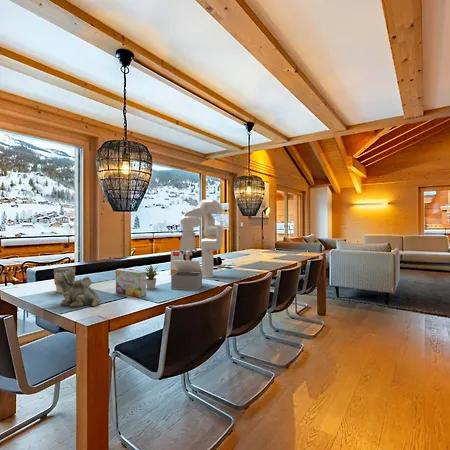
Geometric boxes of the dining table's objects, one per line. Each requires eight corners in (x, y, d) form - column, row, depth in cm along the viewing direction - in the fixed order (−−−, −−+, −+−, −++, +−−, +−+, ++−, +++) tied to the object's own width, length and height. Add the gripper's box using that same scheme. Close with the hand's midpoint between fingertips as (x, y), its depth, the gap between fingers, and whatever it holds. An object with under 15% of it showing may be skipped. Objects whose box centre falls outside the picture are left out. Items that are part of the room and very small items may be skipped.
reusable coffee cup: (48, 292, 186) (48, 268, 186) (66, 288, 198) (66, 266, 198) (63, 294, 182) (63, 270, 181) (80, 290, 193) (80, 267, 193)
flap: (198, 261, 199) (200, 253, 203) (172, 260, 201) (174, 253, 206) (202, 272, 209) (203, 264, 213) (177, 271, 212) (179, 264, 216)
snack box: (114, 293, 186) (114, 269, 185) (121, 291, 191) (121, 268, 190) (140, 297, 176) (140, 272, 176) (146, 295, 181) (146, 270, 181)
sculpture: (68, 298, 174) (68, 264, 174) (109, 301, 167) (109, 266, 167) (45, 305, 158) (45, 268, 158) (88, 310, 151) (88, 271, 151)
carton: (177, 284, 212) (177, 271, 212) (202, 285, 209) (202, 272, 209) (171, 288, 198) (171, 275, 198) (197, 289, 196) (197, 276, 195)
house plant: (153, 284, 211) (153, 261, 211) (166, 287, 203) (166, 263, 203) (136, 288, 199) (136, 264, 199) (150, 291, 191) (150, 266, 191)
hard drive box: (170, 274, 249) (170, 251, 249) (173, 273, 256) (173, 250, 256) (188, 275, 246) (188, 251, 246) (190, 273, 254) (190, 250, 254)
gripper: (200, 234, 208) (200, 260, 208) (178, 233, 210) (177, 259, 210) (198, 234, 200) (198, 261, 200) (174, 234, 202) (174, 261, 203)
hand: (187, 260), depth 205 cm, fingers closed on flap, 3 cm apart
